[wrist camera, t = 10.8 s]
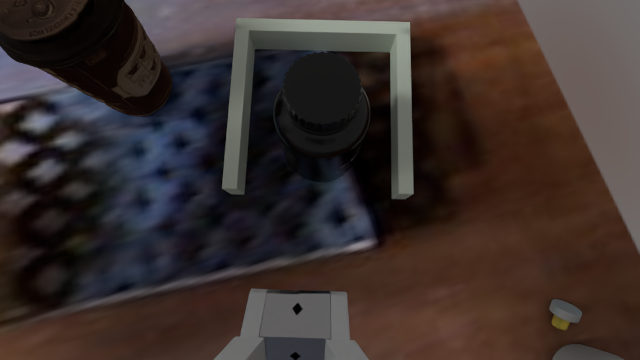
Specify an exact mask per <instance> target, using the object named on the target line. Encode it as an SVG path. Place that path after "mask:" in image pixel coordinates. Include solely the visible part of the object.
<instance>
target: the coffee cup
mask: <svg viewBox="0 0 640 360" xmlns="http://www.w3.org/2000/svg"><path fill="white" fill-rule="evenodd" d="M0 46H1V47H2V49H3V50H4V51H5V52H6V53H7V54H8V55H9V56H10V57H11V58H12V59H13V60H15V61H17V62H20V63H23V64H27V65H30V66H33V67H37V68H39V69H41V70H43V71H45V72H47V73H48V74H50V75H52V76H54V77H55V78H57V79H59V80H61V81H63V82H64V83H66V84H68V85H69V86H71V87H74V88H76V89H77V90H79V91H81V92H83V93H84V94H86V95H89V96H91V97H92V98H94V99H96V100H98V101H100V102H103V103H105V104H106V105H107V106H109V107H111V108H113V109H115V110H117V111H119V112H121V113H124V114H127V115H131V116H148V115H150V114H152V113H154V112H155V111H157V110H158V109H160V108H161V107H162V106H163V105H164V104H165V103H166V101H167V100H168V98H169V95H170V92H171V89H172V78H171V74H170V72H169V70H168V68H167V67H166V66H165V65H164V63H163V62H162V61H161V60H160V56H159V53H158V52H157V50H156V48H155V46H154V44H153V43H152V42H151V40H150V39H149V37H148V36H147V34H146V32H145V30H144V28H143V26H142V25H141V23H140V21H139V20H138V19H137V17H136V16H135V14H134V12H133V11H132V9H131V8H130V7H129V5H127V4H126V3H125V1H124V0H0Z"/></svg>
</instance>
